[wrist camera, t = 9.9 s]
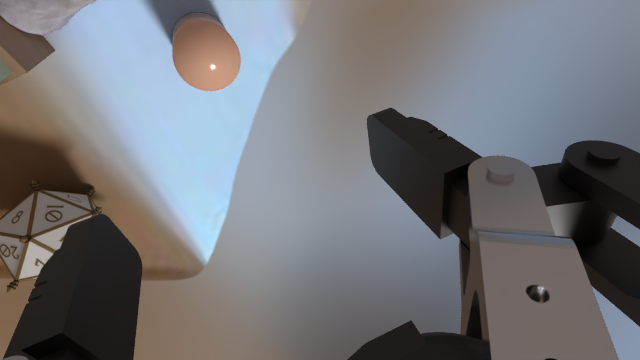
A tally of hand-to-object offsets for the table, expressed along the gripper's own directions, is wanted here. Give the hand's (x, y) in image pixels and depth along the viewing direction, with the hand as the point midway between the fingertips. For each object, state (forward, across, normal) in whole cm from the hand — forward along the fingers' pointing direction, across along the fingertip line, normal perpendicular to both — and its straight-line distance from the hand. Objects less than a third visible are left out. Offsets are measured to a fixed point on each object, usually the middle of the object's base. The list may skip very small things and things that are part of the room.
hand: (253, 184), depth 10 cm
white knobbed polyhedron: (+22, +17, +10) cm, 30 cm away
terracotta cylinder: (+22, 0, 0) cm, 22 cm away
